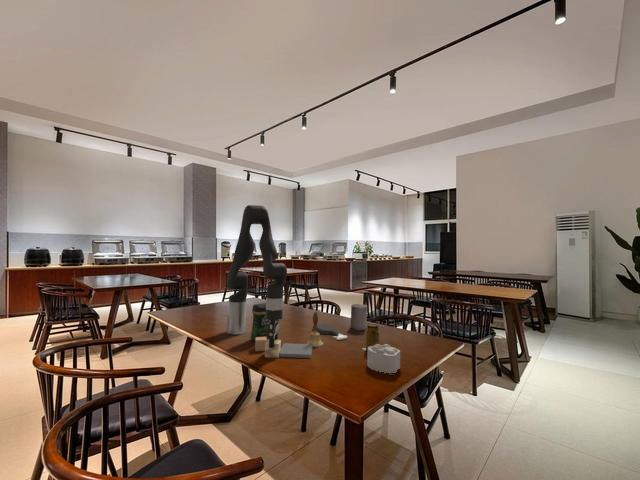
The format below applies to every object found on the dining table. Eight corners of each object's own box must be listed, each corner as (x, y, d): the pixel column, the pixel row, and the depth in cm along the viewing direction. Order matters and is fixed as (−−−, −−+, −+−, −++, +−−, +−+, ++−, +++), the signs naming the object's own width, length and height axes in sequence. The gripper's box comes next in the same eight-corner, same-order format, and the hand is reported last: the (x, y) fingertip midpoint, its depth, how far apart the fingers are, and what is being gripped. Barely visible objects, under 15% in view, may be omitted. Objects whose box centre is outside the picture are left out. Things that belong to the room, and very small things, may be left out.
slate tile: (278, 356, 135) (278, 353, 135) (283, 346, 149) (283, 343, 149) (310, 358, 135) (310, 354, 135) (312, 347, 149) (312, 344, 149)
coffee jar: (257, 343, 152) (258, 305, 153) (248, 339, 158) (249, 303, 158) (273, 339, 159) (274, 303, 159) (264, 336, 165) (265, 301, 165)
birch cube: (264, 357, 134) (265, 343, 134) (267, 352, 140) (267, 339, 140) (278, 357, 134) (278, 344, 134) (280, 353, 140) (281, 339, 140)
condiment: (374, 347, 152) (374, 322, 153) (384, 352, 145) (385, 327, 145) (361, 348, 149) (362, 324, 149) (371, 354, 142) (372, 328, 142)
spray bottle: (326, 328, 187) (351, 339, 166) (310, 330, 181) (335, 342, 160) (326, 323, 187) (351, 334, 166) (310, 325, 181) (335, 337, 160)
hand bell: (303, 344, 154) (304, 312, 154) (314, 340, 160) (315, 309, 160) (315, 348, 148) (316, 315, 148) (326, 344, 154) (327, 312, 154)
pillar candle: (348, 326, 190) (348, 302, 190) (362, 325, 193) (363, 301, 193) (354, 330, 181) (355, 305, 181) (369, 329, 184) (370, 304, 184)
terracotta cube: (255, 351, 141) (255, 340, 142) (255, 347, 146) (255, 337, 146) (266, 350, 143) (266, 340, 143) (265, 347, 148) (266, 336, 148)
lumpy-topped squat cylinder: (393, 375, 119) (394, 353, 119) (362, 367, 126) (363, 346, 126) (401, 367, 128) (402, 346, 128) (372, 360, 135) (373, 340, 135)
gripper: (269, 304, 145) (268, 339, 144) (262, 310, 131) (261, 349, 130) (285, 305, 145) (284, 340, 144) (280, 311, 130) (279, 350, 130)
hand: (273, 344), depth 137 cm, fingers open, 8 cm apart
